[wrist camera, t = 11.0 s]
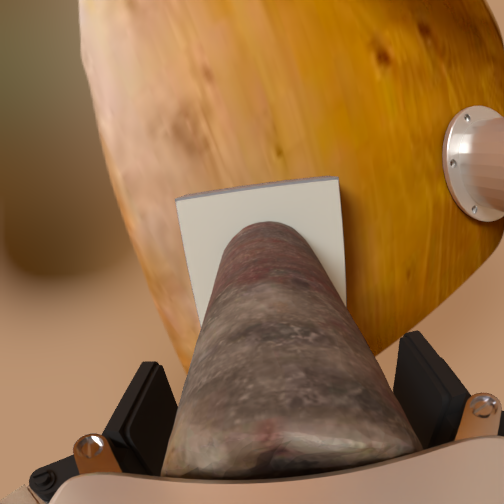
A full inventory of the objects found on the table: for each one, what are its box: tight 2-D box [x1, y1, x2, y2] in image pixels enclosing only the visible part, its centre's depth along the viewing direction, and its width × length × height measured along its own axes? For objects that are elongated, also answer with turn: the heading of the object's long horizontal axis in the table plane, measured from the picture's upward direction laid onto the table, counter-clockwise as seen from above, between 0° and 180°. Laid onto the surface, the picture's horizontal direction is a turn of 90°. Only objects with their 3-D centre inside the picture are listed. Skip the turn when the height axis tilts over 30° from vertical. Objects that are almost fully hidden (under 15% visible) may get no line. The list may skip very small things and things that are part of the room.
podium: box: [175, 176, 347, 327], centre depth 27 cm, size 13×13×4 cm
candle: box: [161, 221, 423, 480], centre depth 15 cm, size 8×7×20 cm
